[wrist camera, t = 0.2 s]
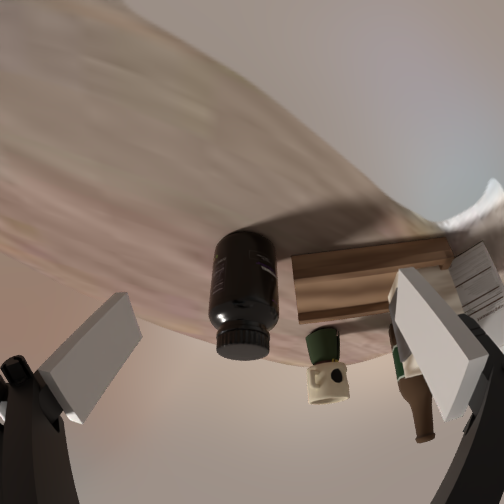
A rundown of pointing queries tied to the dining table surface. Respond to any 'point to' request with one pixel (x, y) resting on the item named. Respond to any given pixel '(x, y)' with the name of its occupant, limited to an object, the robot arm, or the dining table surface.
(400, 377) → the beer bottle
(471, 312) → the supplement box
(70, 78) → the dining table surface
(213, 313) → the supplement bottle
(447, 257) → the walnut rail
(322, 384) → the character mug
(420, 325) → the robot arm
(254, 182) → the dining table surface
